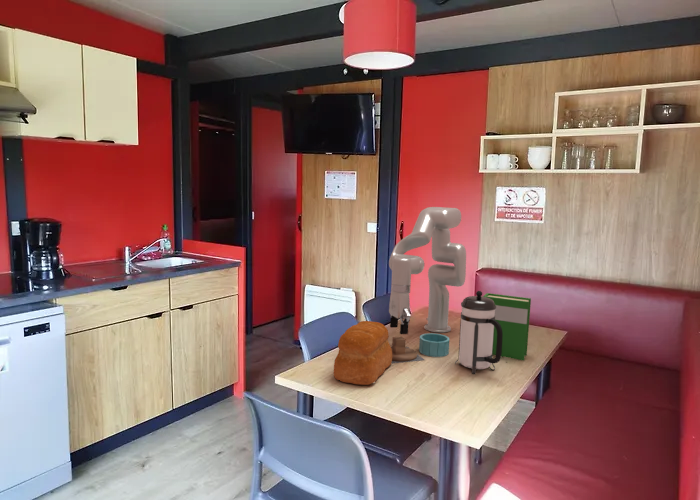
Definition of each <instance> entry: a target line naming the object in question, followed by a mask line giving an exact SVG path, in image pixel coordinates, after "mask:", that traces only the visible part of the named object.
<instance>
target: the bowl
mask: <svg viewBox="0 0 700 500" xmlns="http://www.w3.org/2000/svg"><path fill="white" fill-rule="evenodd" d="M418 344H419V345H418V352H419V353H420V354H421V355H424V356H427V357H434V358H442V357H446V356H448V355H449V352H450V337H449V336H447V335H444V334H440V333H435V332H431V333H430V332H429V333H422V334H421V335H419V343H418Z"/></svg>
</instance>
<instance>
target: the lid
mask: <svg viewBox="0 0 700 500" xmlns="http://www.w3.org/2000/svg"><path fill="white" fill-rule="evenodd" d="M391 339H392V341H391V346H390V347H391V349H392V361H397V362H403V363H407V362H406V361H412V360H414V359H416V358H417V354H418V352H417V351H416V350H414V349H412V348H410V347H409V348H406V347H407V346H406V344H407V343H406V341H407V339H405V338H404V337H403V336H392V338H391Z"/></svg>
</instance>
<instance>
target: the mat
mask: <svg viewBox="0 0 700 500" xmlns="http://www.w3.org/2000/svg"><path fill="white" fill-rule="evenodd" d="M405 347H406V348H410V347H409V346H405ZM419 361H420V362H423V361H426V359H425V358H423V357H422V356H420V355H419V354H418V353H417V358H416V359H414V360H412V361H406V362H405V363H412V362H419ZM401 363H404V362H397V361H392V362H391V365H392V364H401Z"/></svg>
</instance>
